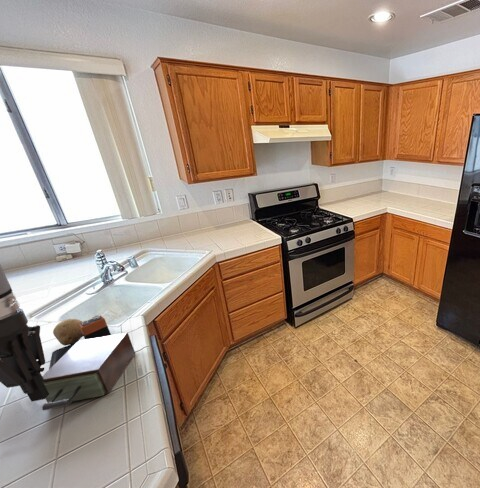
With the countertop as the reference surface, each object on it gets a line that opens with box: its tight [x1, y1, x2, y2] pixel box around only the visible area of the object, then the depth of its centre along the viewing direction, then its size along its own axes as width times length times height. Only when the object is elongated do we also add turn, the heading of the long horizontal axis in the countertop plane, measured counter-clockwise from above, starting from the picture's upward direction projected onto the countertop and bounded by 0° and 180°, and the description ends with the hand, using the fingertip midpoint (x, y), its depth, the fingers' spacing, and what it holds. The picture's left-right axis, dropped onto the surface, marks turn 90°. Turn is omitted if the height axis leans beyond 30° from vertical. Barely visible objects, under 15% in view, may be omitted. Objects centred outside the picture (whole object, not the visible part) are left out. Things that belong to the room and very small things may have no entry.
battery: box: [79, 314, 112, 340], centre depth 98 cm, size 4×7×10 cm, turn 144°
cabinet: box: [42, 332, 136, 395], centre depth 81 cm, size 17×15×9 cm
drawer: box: [41, 372, 106, 411], centre depth 77 cm, size 21×13×7 cm, turn 12°
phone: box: [48, 342, 77, 370], centre depth 91 cm, size 8×1×15 cm
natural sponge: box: [52, 318, 84, 346], centre depth 98 cm, size 9×9×10 cm
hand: (40, 397), depth 64 cm, fingers closed
